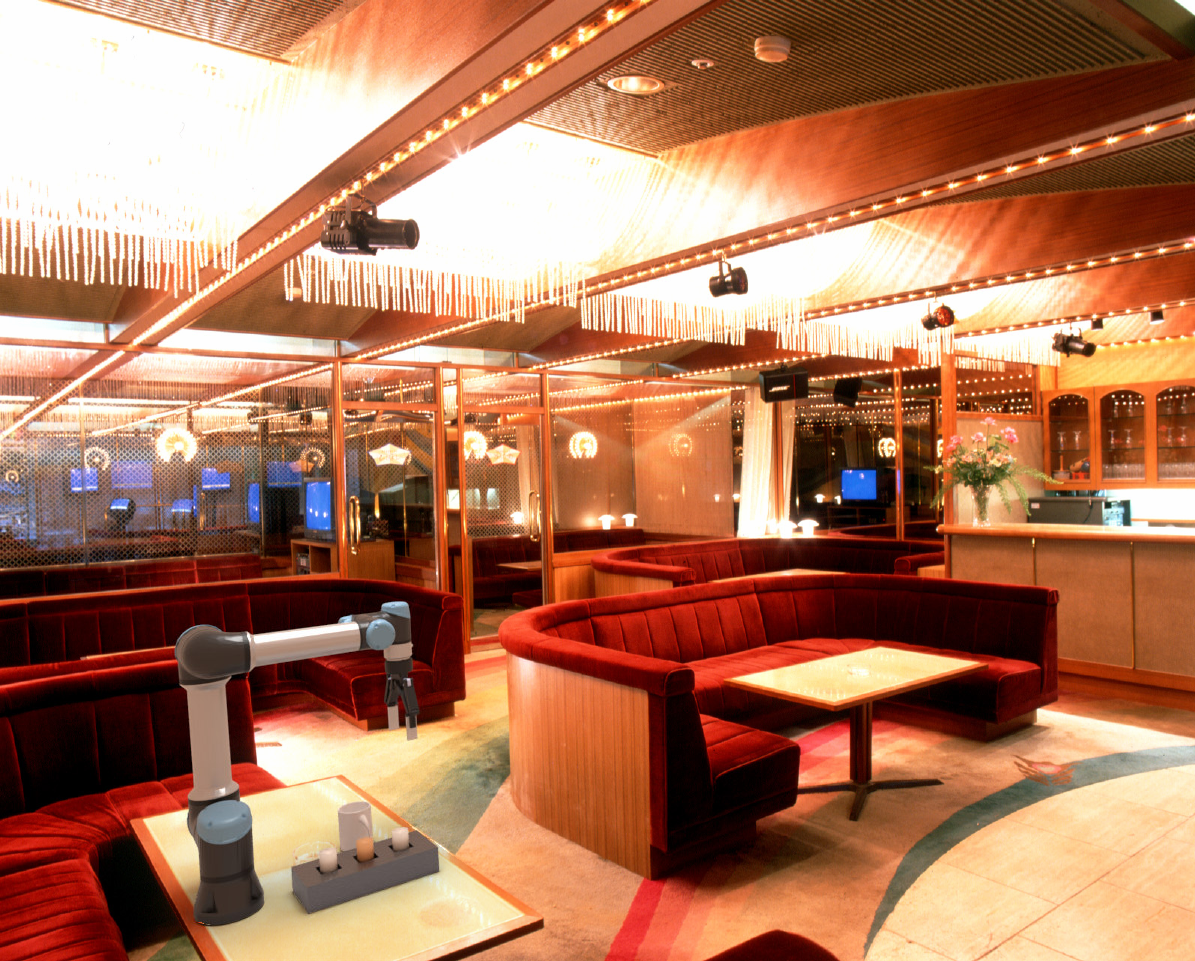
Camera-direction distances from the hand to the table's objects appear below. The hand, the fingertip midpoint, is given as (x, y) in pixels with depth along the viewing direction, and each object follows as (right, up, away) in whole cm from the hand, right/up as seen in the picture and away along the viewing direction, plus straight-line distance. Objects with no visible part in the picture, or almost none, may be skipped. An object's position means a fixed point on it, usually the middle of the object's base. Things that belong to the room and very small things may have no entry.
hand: (402, 734), depth 235 cm
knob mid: (-3, -23, -28) cm, 36 cm away
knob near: (-10, -23, -33) cm, 41 cm away
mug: (-10, -29, -8) cm, 31 cm away
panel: (-2, -28, -28) cm, 39 cm away
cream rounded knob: (+5, -22, -23) cm, 32 cm away
